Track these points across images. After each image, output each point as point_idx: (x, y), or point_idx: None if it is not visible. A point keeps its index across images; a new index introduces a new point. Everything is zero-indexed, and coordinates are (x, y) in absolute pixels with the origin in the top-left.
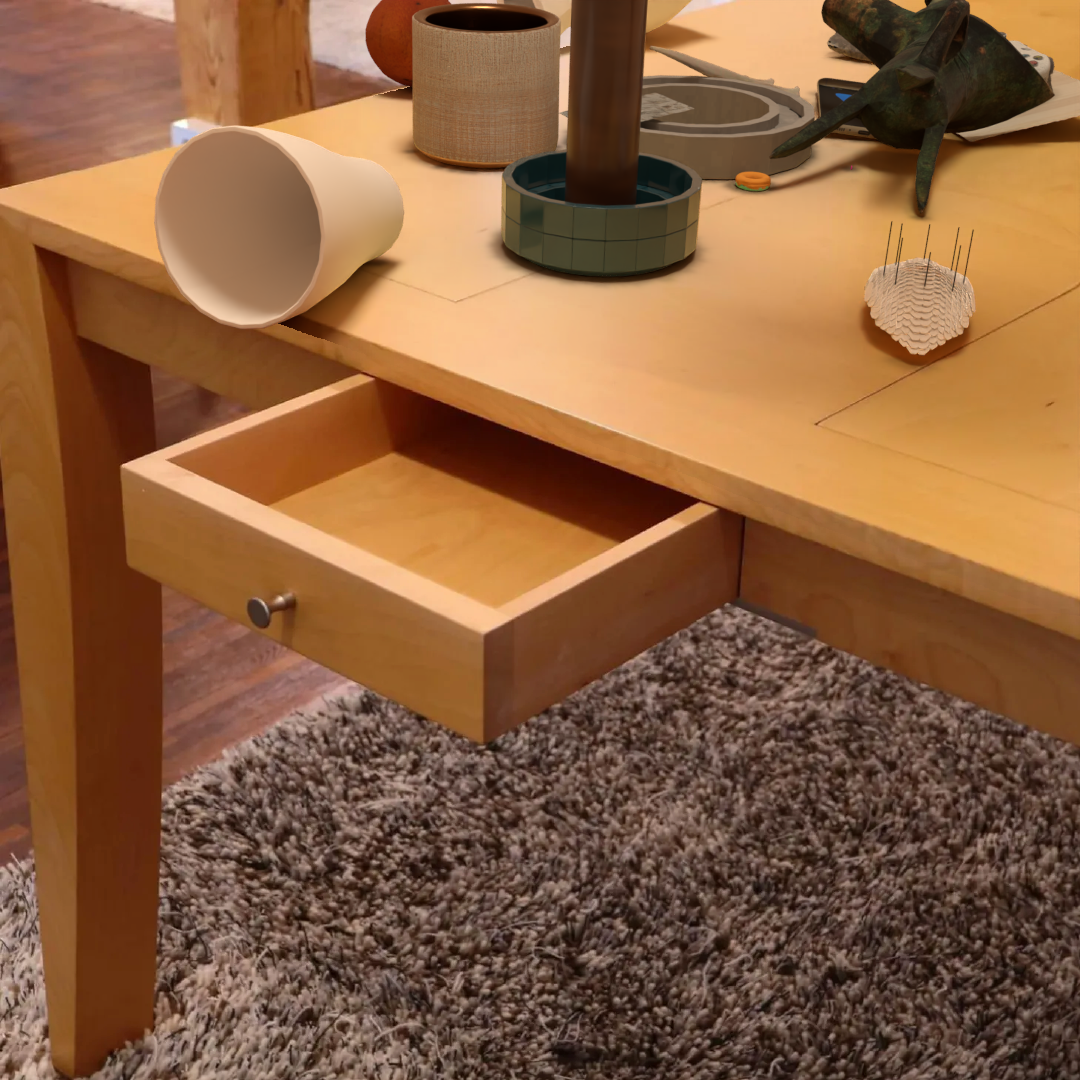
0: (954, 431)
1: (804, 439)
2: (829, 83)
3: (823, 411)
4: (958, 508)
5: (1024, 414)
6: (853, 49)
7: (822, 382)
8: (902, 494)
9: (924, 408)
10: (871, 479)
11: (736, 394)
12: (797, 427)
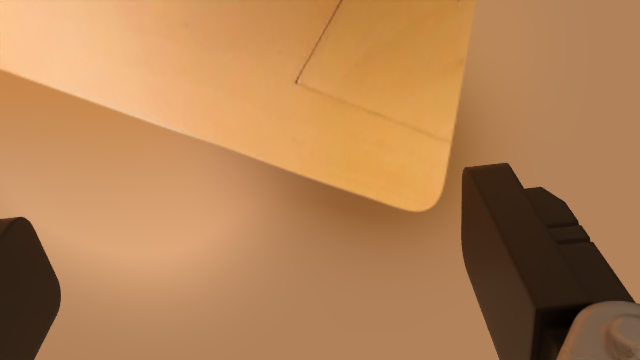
0: (388, 63)
1: (291, 105)
2: None
3: (298, 61)
4: (387, 159)
5: (439, 20)
6: None
7: (291, 11)
8: (356, 154)
9: (368, 33)
10: (337, 142)
11: (234, 53)
12: (284, 90)
